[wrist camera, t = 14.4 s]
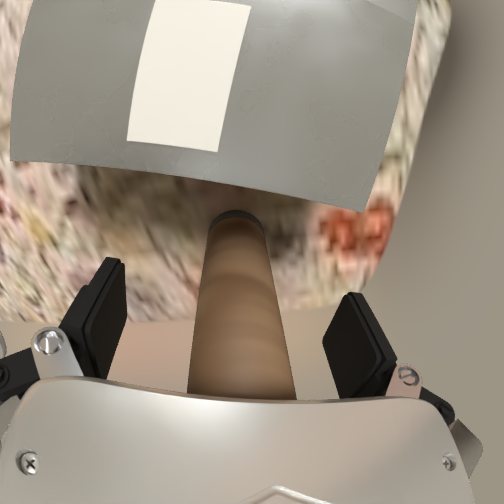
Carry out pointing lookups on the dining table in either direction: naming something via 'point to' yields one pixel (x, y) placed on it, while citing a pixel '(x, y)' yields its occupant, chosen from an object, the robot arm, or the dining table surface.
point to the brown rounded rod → (238, 317)
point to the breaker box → (216, 90)
